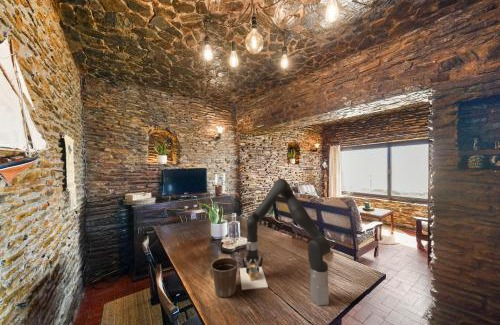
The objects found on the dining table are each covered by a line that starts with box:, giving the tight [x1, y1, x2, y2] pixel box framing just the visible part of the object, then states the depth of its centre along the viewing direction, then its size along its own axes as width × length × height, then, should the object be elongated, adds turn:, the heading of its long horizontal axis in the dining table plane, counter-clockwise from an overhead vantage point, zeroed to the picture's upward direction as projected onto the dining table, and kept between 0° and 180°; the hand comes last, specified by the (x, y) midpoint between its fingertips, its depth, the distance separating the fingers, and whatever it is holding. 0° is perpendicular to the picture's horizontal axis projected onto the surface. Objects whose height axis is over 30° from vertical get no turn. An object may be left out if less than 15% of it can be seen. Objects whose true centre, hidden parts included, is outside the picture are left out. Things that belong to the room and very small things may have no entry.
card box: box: [248, 264, 258, 280], centre depth 130 cm, size 5×9×5 cm, turn 13°
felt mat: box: [239, 266, 269, 291], centre depth 130 cm, size 24×16×1 cm, turn 6°
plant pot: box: [210, 257, 239, 298], centre depth 116 cm, size 16×16×16 cm
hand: (252, 272), depth 130 cm, fingers open, 5 cm apart
